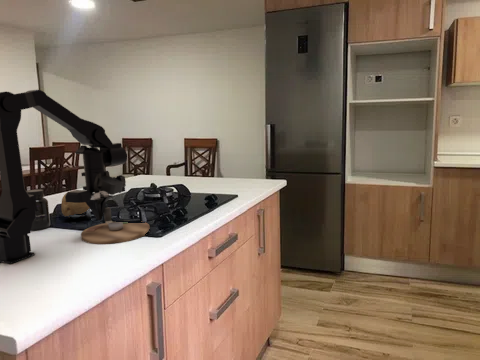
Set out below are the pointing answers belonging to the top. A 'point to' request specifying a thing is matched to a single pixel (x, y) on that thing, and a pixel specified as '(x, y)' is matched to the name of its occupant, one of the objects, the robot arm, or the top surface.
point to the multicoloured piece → (110, 223)
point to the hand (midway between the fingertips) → (99, 219)
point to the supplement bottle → (40, 211)
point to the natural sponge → (73, 207)
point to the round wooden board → (114, 233)
